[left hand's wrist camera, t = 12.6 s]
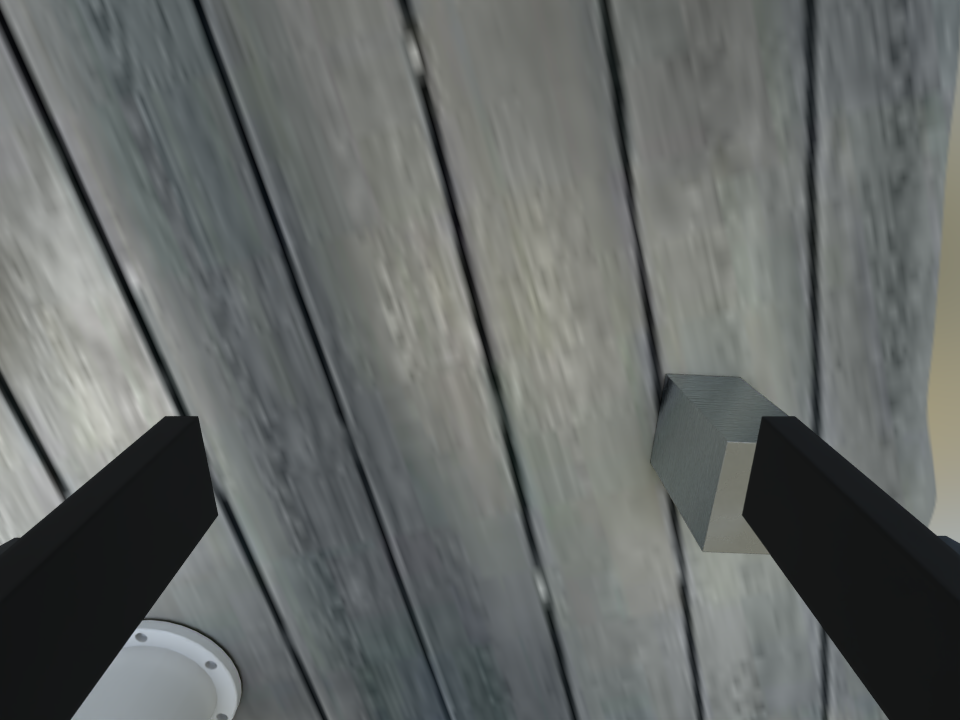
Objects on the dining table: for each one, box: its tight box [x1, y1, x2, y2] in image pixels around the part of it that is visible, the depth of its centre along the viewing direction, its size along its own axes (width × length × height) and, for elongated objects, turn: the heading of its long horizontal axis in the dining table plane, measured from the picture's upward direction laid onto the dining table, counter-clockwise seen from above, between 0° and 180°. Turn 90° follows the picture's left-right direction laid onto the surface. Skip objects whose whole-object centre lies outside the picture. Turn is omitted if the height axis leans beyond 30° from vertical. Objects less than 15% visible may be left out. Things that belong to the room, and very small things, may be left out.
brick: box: [650, 374, 788, 554], centre depth 32 cm, size 7×5×9 cm
